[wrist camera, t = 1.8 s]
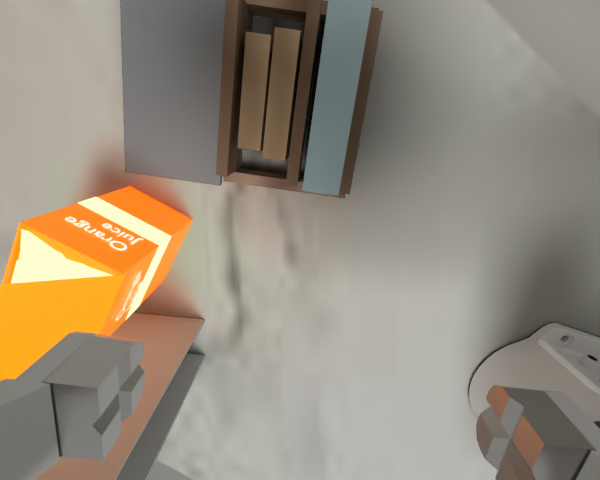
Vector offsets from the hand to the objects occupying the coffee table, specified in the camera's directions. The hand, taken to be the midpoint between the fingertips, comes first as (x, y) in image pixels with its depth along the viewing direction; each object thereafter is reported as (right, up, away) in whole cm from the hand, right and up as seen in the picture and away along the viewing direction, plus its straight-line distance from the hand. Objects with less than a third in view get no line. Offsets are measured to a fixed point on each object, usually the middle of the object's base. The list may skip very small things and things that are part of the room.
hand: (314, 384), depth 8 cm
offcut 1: (-4, +17, +26) cm, 31 cm away
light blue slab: (+2, +16, +26) cm, 30 cm away
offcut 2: (-2, +17, +26) cm, 31 cm away
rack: (-1, +17, +26) cm, 31 cm away
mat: (-12, +18, +25) cm, 34 cm away
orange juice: (-18, +4, +31) cm, 36 cm away
